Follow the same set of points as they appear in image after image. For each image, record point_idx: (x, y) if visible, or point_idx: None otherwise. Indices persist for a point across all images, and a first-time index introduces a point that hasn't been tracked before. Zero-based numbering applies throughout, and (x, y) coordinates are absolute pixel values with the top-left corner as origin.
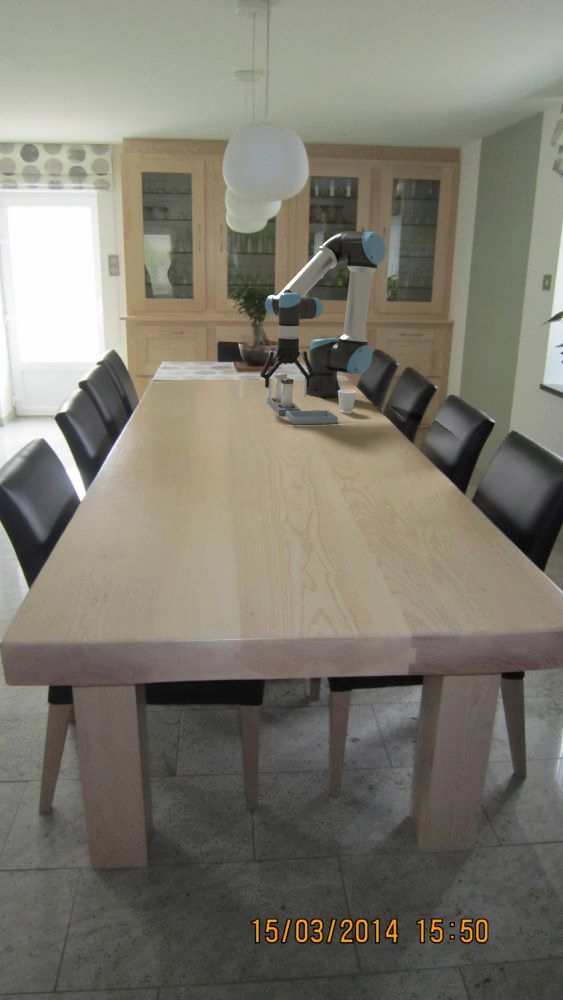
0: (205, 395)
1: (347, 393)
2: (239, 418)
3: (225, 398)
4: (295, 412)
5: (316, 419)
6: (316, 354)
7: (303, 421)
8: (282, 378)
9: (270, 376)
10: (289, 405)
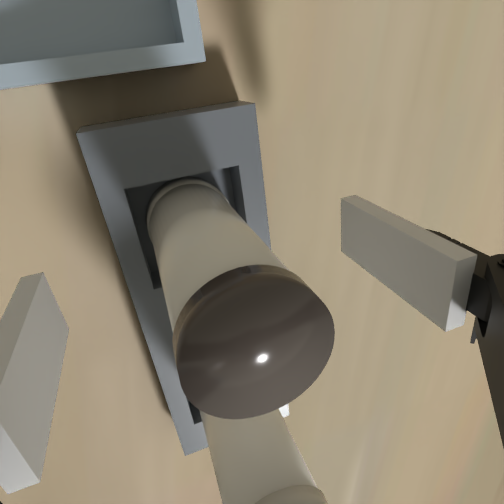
0: (458, 438)
1: None
2: (465, 38)
3: (413, 423)
4: (118, 51)
5: None
6: None
7: None
8: (271, 493)
9: (498, 279)
10: (176, 197)
